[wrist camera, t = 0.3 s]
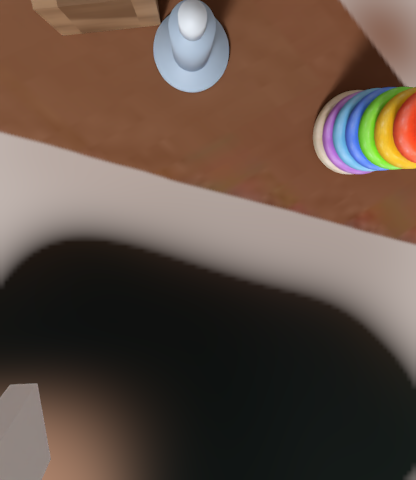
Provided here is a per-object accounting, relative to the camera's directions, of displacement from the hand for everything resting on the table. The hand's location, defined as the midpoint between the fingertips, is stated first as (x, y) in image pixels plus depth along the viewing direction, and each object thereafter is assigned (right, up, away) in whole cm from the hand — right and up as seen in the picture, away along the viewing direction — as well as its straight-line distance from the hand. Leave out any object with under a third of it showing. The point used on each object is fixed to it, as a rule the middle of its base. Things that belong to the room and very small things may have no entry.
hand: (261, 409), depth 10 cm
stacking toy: (+13, +16, +24) cm, 32 cm away
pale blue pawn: (-3, +23, +21) cm, 31 cm away
